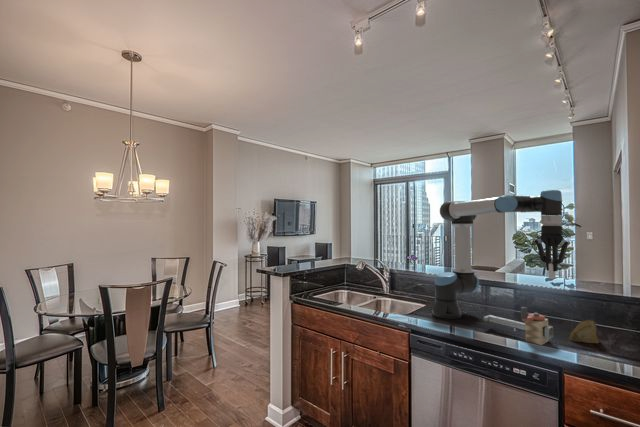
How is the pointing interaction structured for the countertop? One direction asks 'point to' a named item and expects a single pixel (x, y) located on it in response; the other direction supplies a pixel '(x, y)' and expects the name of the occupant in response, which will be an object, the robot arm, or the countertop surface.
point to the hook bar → (518, 325)
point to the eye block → (536, 331)
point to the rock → (585, 332)
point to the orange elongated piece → (530, 315)
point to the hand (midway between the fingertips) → (552, 278)
